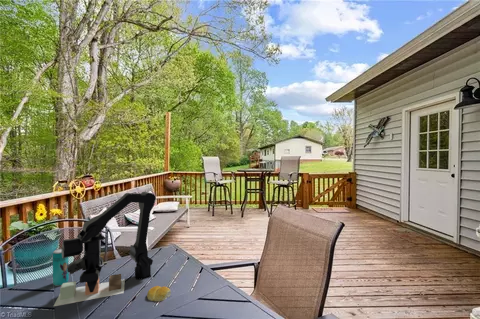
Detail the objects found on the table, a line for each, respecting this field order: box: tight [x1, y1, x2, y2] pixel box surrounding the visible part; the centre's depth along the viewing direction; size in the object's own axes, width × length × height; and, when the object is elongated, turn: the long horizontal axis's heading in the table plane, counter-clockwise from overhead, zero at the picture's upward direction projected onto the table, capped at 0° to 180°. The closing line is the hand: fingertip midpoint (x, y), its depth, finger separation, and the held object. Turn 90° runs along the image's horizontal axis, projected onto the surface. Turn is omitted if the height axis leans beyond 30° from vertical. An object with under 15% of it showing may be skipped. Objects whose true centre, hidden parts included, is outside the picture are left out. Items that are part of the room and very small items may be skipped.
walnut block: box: [108, 273, 122, 291], centre depth 110 cm, size 4×4×4 cm
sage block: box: [59, 281, 77, 300], centre depth 103 cm, size 4×4×4 cm
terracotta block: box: [84, 277, 100, 295], centre depth 106 cm, size 4×4×4 cm
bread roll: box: [146, 285, 172, 302], centre depth 103 cm, size 8×9×4 cm
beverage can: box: [52, 248, 70, 287], centre depth 114 cm, size 6×6×15 cm
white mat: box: [52, 278, 126, 307], centre depth 106 cm, size 24×13×1 cm, turn 113°
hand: (92, 289), depth 106 cm, fingers closed on terracotta block, 4 cm apart
